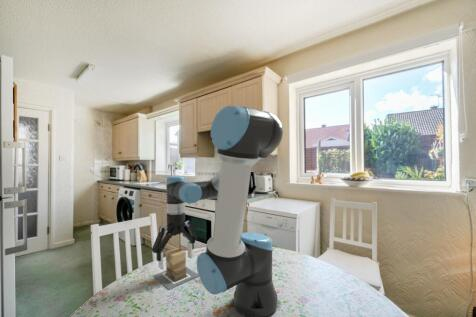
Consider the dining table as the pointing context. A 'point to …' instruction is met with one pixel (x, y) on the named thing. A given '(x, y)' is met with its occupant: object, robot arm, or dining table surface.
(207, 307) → the dining table surface
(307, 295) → the dining table surface
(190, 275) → the mat
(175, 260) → the oak block
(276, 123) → the robot arm
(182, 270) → the base block
